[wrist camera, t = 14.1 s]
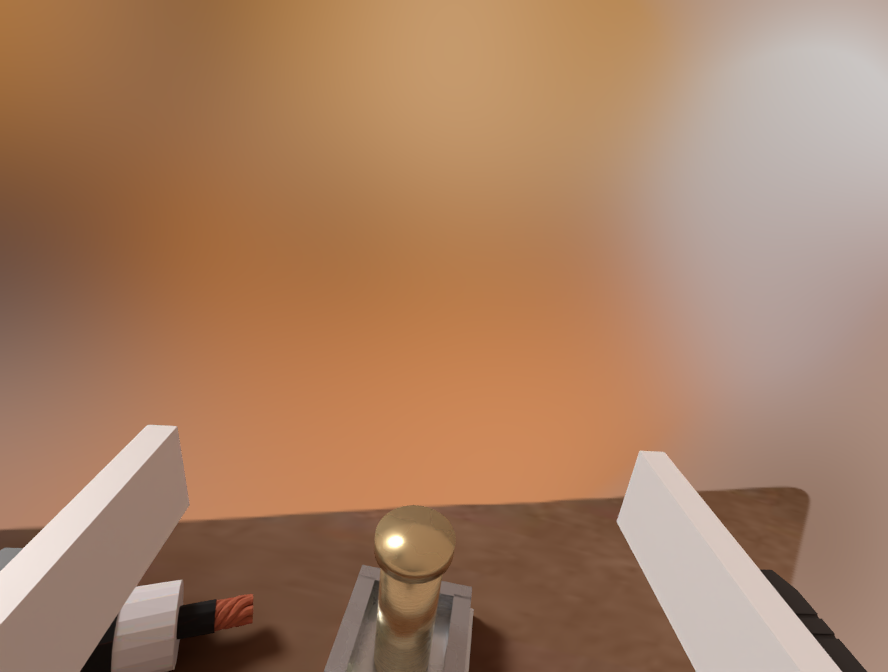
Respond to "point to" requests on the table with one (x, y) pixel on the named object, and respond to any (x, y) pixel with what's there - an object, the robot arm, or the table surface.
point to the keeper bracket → (356, 636)
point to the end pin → (409, 585)
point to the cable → (161, 628)
